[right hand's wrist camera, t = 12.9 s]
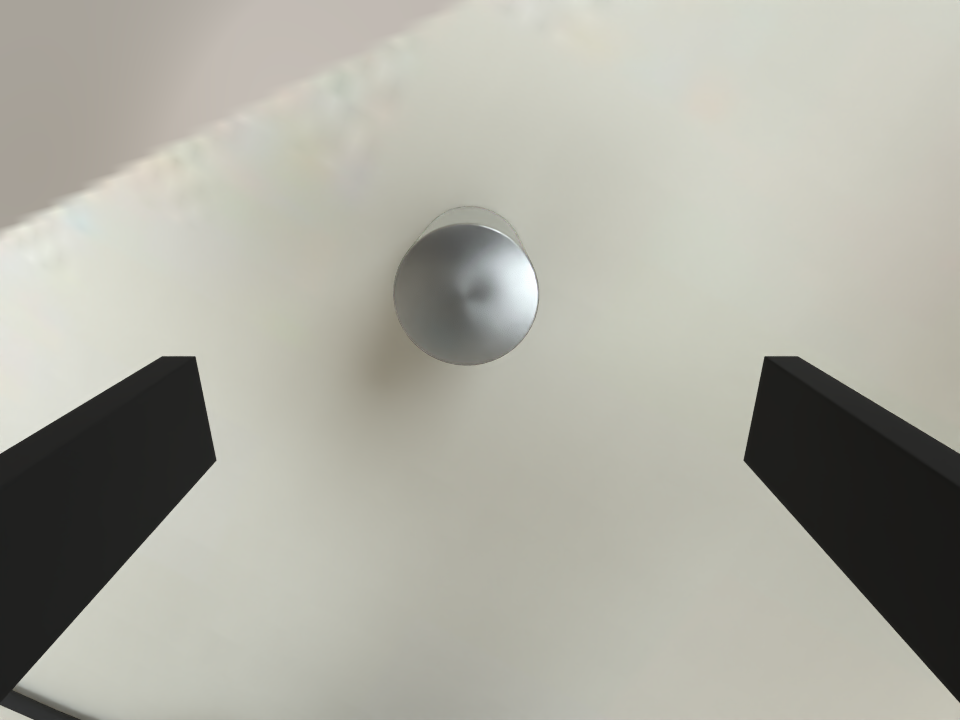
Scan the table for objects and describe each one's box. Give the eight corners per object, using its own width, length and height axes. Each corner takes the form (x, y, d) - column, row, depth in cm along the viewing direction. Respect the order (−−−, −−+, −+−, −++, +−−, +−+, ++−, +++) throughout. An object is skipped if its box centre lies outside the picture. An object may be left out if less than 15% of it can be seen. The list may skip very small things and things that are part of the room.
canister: (394, 269, 26) (364, 307, 19) (461, 182, 25) (454, 190, 18) (477, 334, 27) (476, 391, 21) (546, 254, 26) (569, 288, 19)
